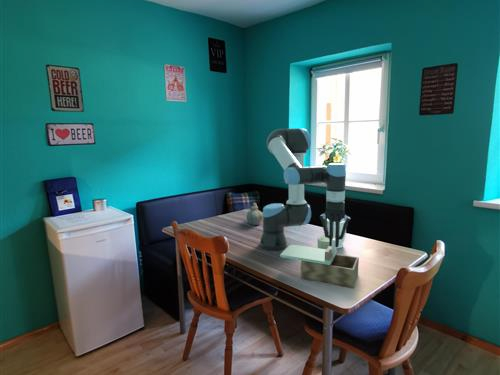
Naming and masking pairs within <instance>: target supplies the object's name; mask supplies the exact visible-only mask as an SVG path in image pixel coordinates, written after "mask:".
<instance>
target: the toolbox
mask: <svg viewBox="0 0 500 375" xmlns="http://www.w3.org/2000/svg"><path fill="white" fill-rule="evenodd" d="M359 259H360V257H358V256H351V255H346V254H338V253H337V254H336V256H335V257H334V259H333V261H332V263H331V264H330V265H326V264H320V263H313V262H307V261H301V260H300V279H302V280H307V281H312V282H319V283H324V284H329V285H333V286H339V287H343V288H350V289H354V288H355V284H356V282H357V278H358V276H359V264H360V263H359V262H360V261H359Z"/></svg>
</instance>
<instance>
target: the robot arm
mask: <svg viewBox="0 0 500 375" xmlns="http://www.w3.org/2000/svg"><path fill="white" fill-rule="evenodd" d="M311 144H312V140H311V136H310V133H309V131H308V130H307V129H306V128H279V129H278V128H277V129H275V130H273V131H272V132H271V133H269V135H268V136H267V140H266V148H267V150H268V152H270V153H271V154H272V155H273V156H274V157H275V158H276V160H277V161H278V163H279V165H280V166H281V167H282V169H283V180H284V184H286V185H288V199H287V200H286V202H285V205H284V203H280V202H279V203H276V202H275V203H270V204H267V205H265V206H263V208H262V216H263V220H262V234H261V237H260V241H259V246H260V248H262V249H264V250H268V251H278V250H285V249H286V248H287V247H288V241H287V238H286V235H285V230H284V229H285V228H289V227H302V226H306V225H307V224H309V222H310V221H311V218H312V210H311V205H310V204H308V202H307V201H306V199H305V185H312V184H325V185H326V193H325V194H326V195H325V196H326V197H325V199H326V202H325V211H324V212H323V213H322V214H320V215H319V219H320V221H321V225H322V229H323V233H324V236H325V237H326V238H329V246H332V253H331V254H332V255H335V254H336V251H337V248H336V247H338V246H339V240H340V239H343V237H344V234H345V231H346V232H347V227H348V223H349V222H350V220H351V219H352V218H351V216H348V215H347V214H346V212H345V205H346V204H345V200H346V198H345V197H346V179H347V178H346V177H347V176H346V175H347V171H346V165H345V164H344V163H340V162H339V163H338V162H331V163H328V164H326V165H324V164H321V165H320V164H319V165H316V166H305V155H307V152H308V150H310V148H311ZM327 219H328V220H329V224H330V228H329V232H328V228H327V223H328V222H327ZM342 219H344V221H345V222H344V225H343V229H342V232H341V235H340V236H339V230H340V221H341V220H342ZM334 222H336V234H335V238H333V226H334Z"/></svg>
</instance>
